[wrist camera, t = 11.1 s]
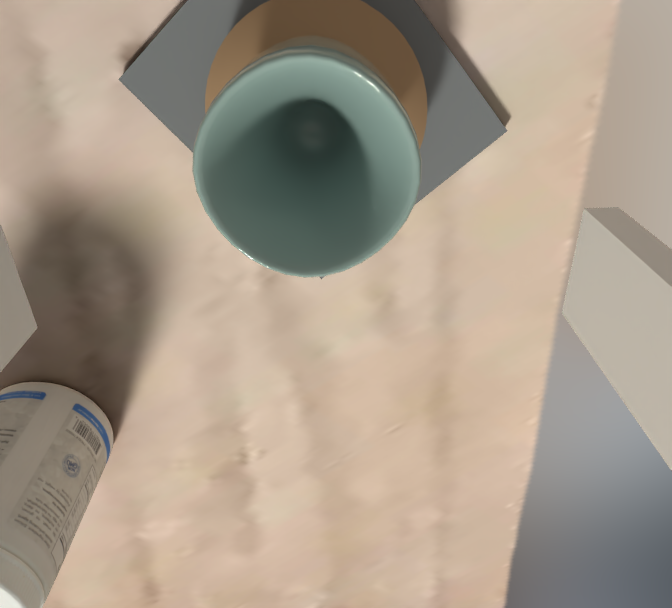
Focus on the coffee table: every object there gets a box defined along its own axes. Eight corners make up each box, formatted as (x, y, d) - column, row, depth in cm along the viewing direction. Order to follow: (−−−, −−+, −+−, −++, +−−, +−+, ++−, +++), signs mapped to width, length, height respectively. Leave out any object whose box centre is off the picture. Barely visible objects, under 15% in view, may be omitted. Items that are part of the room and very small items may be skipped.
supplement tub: (-18, 447, 43) (-162, 640, 31) (-4, 358, 39) (-165, 539, 26) (105, 481, 46) (18, 675, 33) (132, 400, 41) (43, 587, 28)
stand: (122, 77, 30) (97, 89, 27) (312, -141, 25) (310, -158, 22) (321, 274, 36) (320, 302, 33) (504, 128, 31) (523, 144, 28)
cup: (319, -13, 25) (312, -9, 16) (425, 121, 28) (468, 185, 19) (203, 109, 27) (143, 169, 19) (311, 219, 30) (303, 315, 21)
